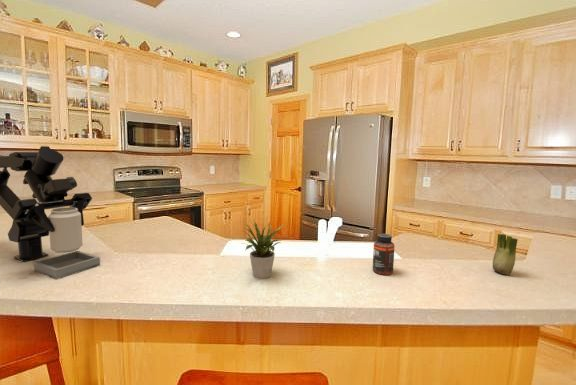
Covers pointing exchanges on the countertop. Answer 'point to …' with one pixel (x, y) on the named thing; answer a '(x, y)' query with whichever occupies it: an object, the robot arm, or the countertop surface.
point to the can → (65, 230)
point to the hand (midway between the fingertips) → (68, 228)
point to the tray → (66, 264)
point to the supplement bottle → (383, 255)
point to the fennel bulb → (505, 254)
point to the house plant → (262, 251)
